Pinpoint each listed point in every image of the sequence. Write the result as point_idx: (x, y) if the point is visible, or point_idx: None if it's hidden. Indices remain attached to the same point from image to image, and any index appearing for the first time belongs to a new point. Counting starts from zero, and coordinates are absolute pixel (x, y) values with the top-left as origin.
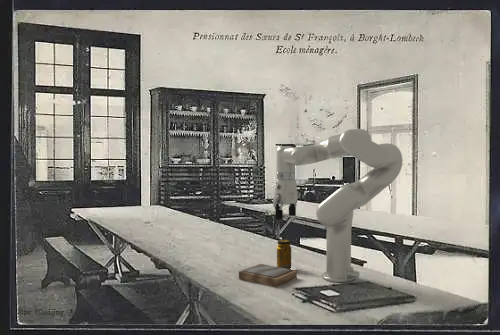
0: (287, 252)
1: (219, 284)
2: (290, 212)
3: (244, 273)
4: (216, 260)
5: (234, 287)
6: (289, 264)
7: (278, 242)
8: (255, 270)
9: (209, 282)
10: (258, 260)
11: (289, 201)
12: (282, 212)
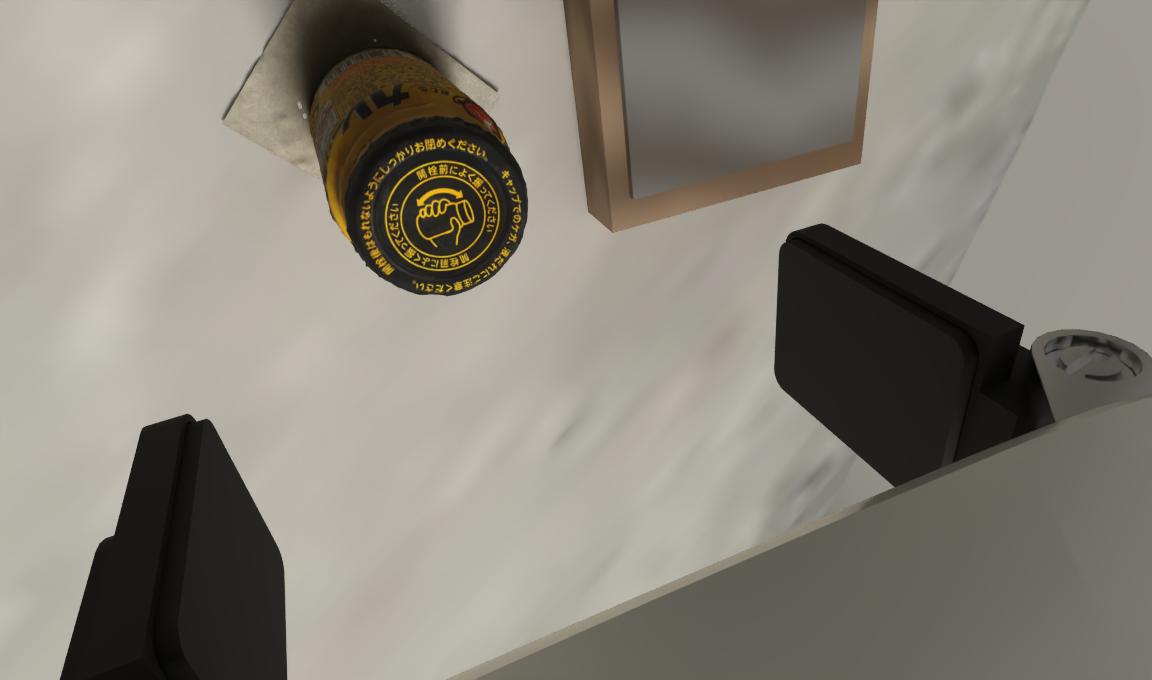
0: (441, 82)
1: (956, 138)
2: (264, 579)
3: (862, 105)
4: (601, 562)
5: (973, 13)
6: (384, 54)
7: (523, 229)
8: (808, 71)
9: (947, 212)
10: (388, 451)
11: (1068, 562)
12: (928, 298)
